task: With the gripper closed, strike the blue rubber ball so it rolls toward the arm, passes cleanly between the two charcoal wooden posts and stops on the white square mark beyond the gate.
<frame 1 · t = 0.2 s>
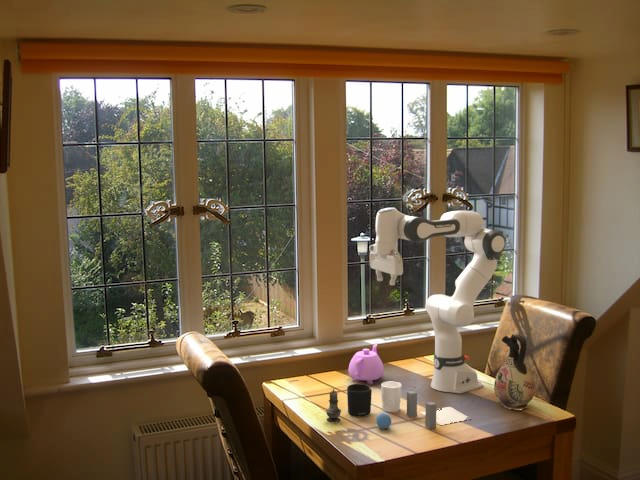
hand: (386, 283, 277), 48 cm above the table, tool pointing down, fingers open, 8 cm apart
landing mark: (445, 416, 263), on the table
white cup: (391, 409, 270), on the table
post 1: (411, 415, 264), on the table
post 2: (430, 427, 253), on the table
pen holder: (359, 413, 267), on the table
ceramic jug: (514, 407, 272), on the table
ball: (383, 420, 251), on the table
teapot: (366, 379, 306), on the table
grey chess piece: (333, 420, 260), on the table
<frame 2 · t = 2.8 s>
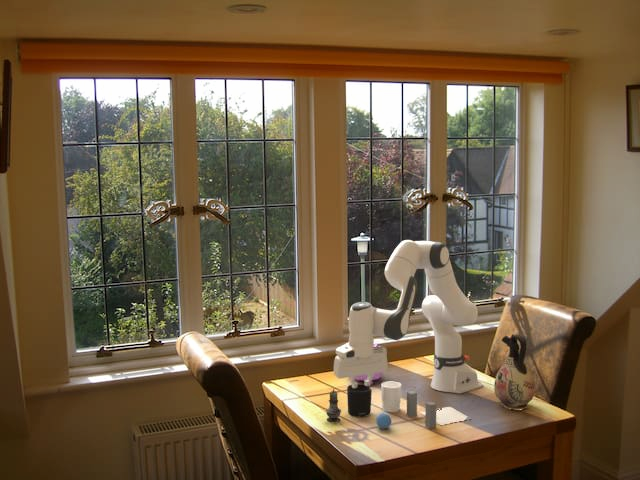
hand: (360, 386, 246), 17 cm above the table, tool pointing down, fingers open, 4 cm apart
nothing on the table moved.
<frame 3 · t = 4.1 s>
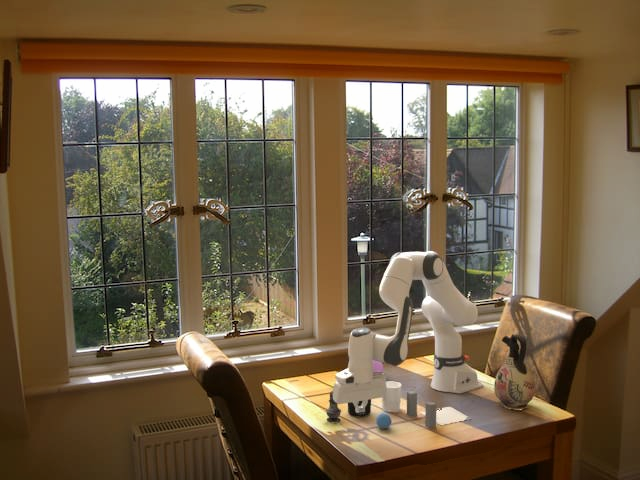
hand: (360, 411, 247), 8 cm above the table, tool pointing down, fingers closed
nothing on the table moved.
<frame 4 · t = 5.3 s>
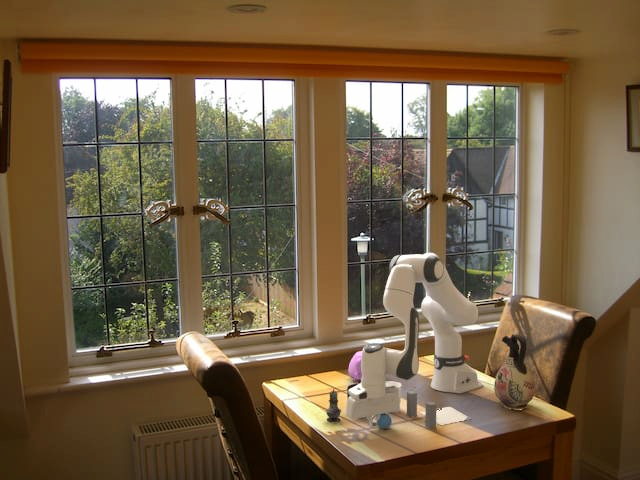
hand: (373, 426, 250), 1 cm above the table, tool pointing down, fingers closed
ball: (384, 421, 252), on the table, touching gripper
everything else where it was.
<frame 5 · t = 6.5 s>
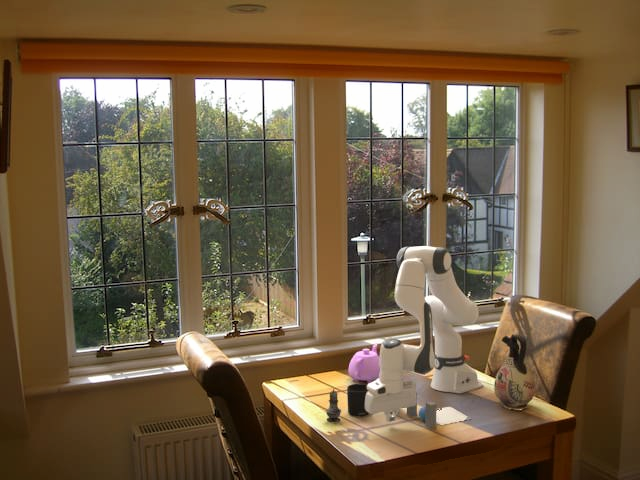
hand: (390, 421, 253), 2 cm above the table, tool pointing down, fingers closed
ball: (426, 413, 258), on the table
everything else where it was.
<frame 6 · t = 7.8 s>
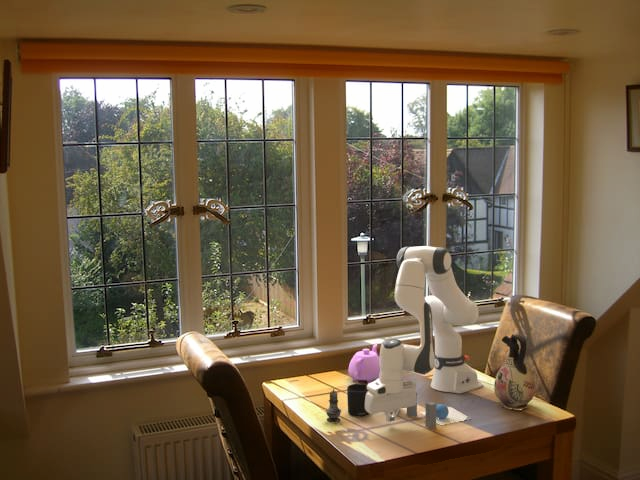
hand: (390, 421, 253), 2 cm above the table, tool pointing down, fingers closed
ball: (441, 411, 260), on the table
everything else where it was.
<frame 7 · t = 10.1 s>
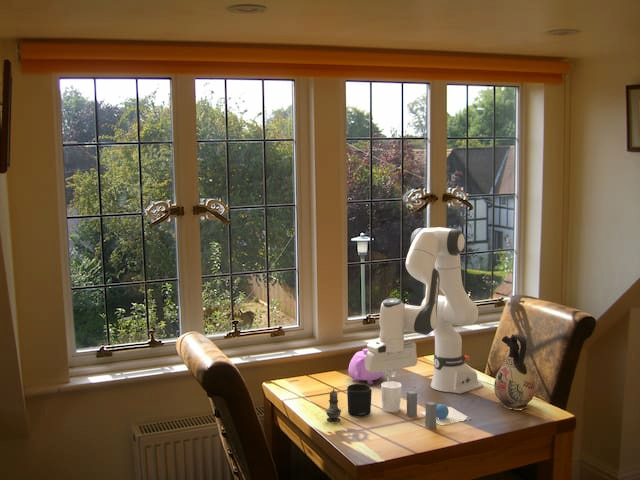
hand: (391, 380, 252), 17 cm above the table, tool pointing down, fingers closed
nothing on the table moved.
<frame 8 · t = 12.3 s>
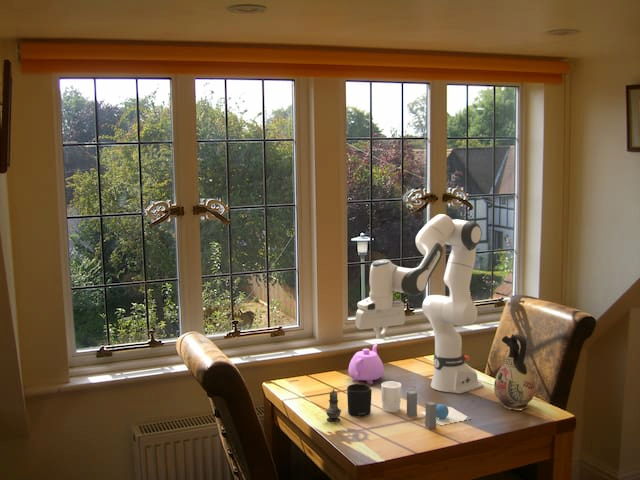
hand: (380, 338, 264), 29 cm above the table, tool pointing down, fingers closed
nothing on the table moved.
at the end: ball 3.1 cm from the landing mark (horizontally); ball never touched post 2; ball never touched post 1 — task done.
